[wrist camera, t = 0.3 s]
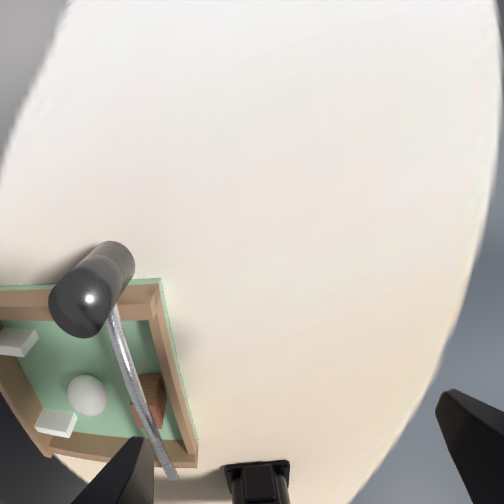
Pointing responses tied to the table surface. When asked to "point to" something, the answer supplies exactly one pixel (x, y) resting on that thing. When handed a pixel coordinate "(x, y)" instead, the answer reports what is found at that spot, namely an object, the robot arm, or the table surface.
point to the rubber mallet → (111, 331)
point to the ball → (87, 395)
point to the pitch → (90, 363)
